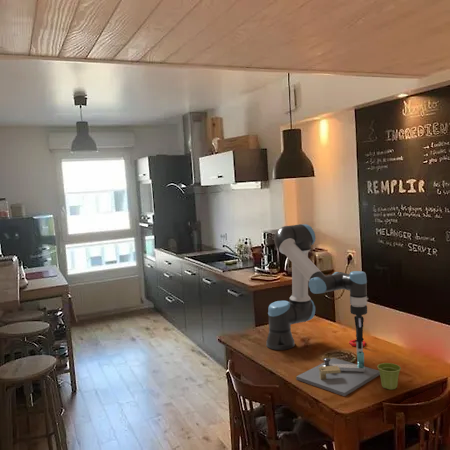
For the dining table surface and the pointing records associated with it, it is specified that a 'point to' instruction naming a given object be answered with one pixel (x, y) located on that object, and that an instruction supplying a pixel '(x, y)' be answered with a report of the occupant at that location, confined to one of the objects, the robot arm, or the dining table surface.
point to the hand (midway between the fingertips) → (359, 354)
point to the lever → (348, 367)
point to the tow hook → (355, 343)
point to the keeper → (328, 371)
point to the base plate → (338, 378)
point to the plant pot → (389, 375)
